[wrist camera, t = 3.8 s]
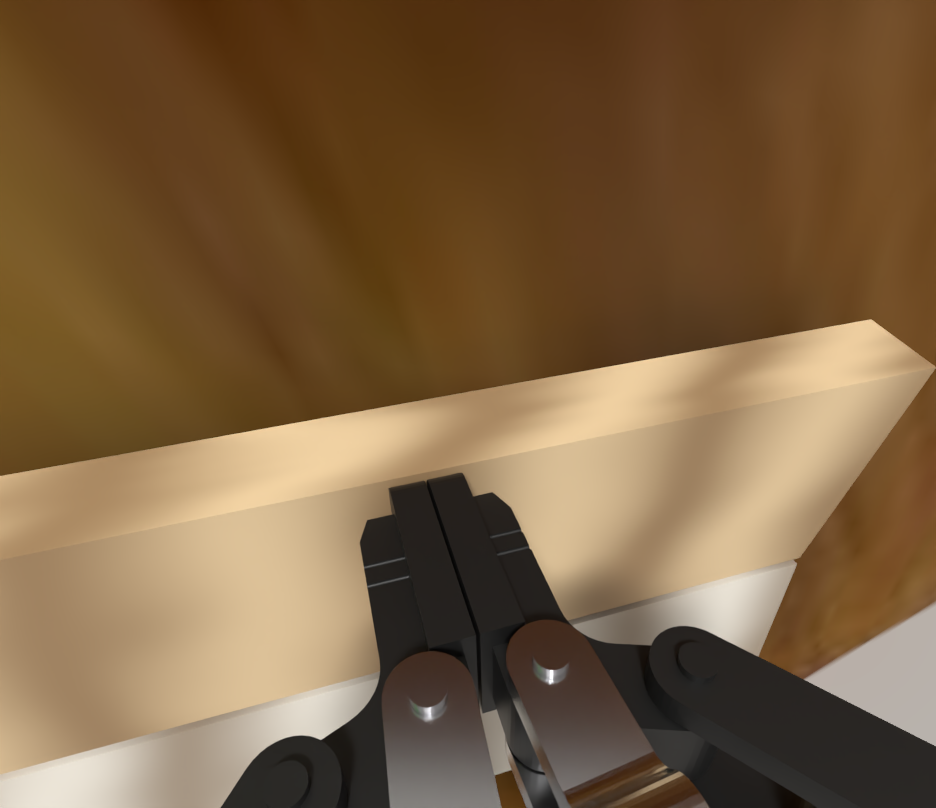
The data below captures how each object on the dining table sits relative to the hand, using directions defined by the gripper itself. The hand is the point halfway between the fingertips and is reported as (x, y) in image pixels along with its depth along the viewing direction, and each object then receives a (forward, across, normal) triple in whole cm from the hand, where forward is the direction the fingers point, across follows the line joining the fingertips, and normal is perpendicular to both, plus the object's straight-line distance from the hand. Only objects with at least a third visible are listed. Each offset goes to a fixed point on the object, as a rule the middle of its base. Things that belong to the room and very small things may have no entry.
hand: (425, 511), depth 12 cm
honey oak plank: (+2, 0, +3) cm, 4 cm away
